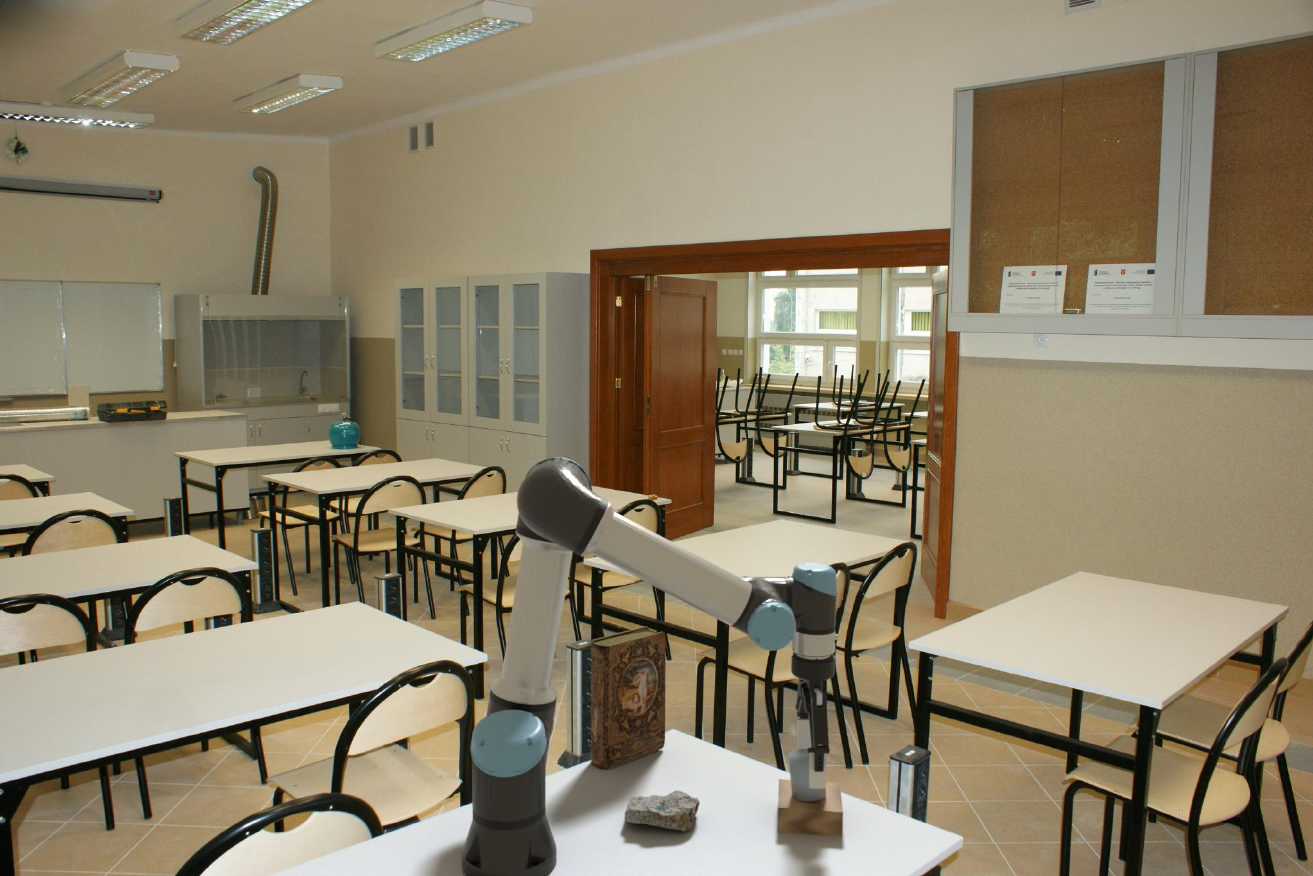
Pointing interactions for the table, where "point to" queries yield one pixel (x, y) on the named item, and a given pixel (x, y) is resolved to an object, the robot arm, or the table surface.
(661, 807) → the rock
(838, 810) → the walnut block
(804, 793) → the grey rounded cylinder
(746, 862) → the table surface
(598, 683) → the book
